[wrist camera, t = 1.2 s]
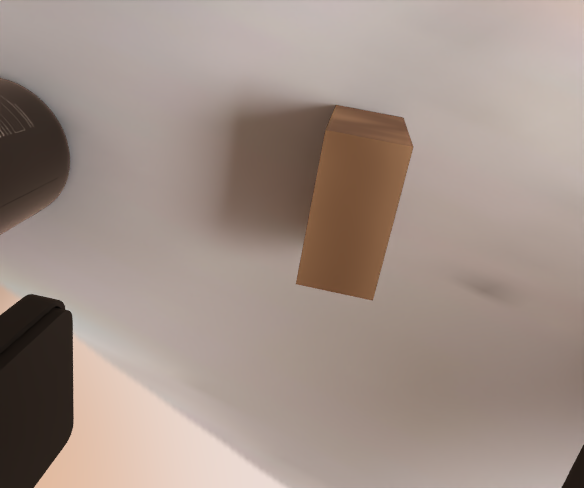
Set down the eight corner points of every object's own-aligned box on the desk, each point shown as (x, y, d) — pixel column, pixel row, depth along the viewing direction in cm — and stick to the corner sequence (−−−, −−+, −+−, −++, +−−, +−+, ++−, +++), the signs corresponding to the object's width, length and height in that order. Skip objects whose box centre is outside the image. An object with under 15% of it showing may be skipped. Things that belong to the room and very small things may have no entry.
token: (403, 117, 23) (413, 147, 18) (372, 240, 25) (372, 300, 20) (336, 104, 23) (325, 130, 18) (311, 228, 26) (295, 284, 20)
